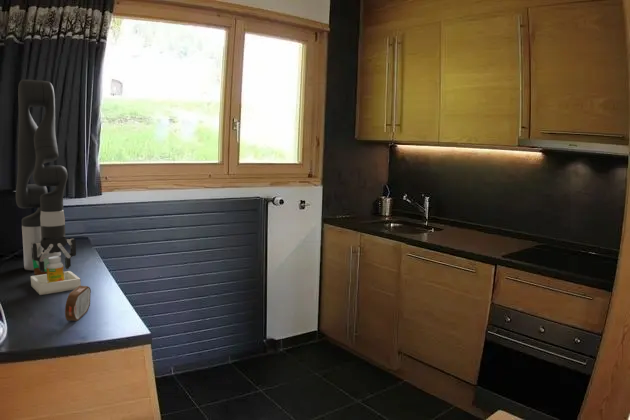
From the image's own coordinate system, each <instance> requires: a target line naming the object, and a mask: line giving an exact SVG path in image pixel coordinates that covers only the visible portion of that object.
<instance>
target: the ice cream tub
mask: <svg viewBox="0 0 630 420" xmlns="http://www.w3.org/2000/svg"><path fill="white" fill-rule="evenodd" d="M46 253H47V252H46ZM40 254H41V253H39V254H37V257H39V256H40ZM61 255H62V252H61V251H60V252H58V253H57V252H54V253H48V255H47V256H46V257H45V259H44V260H43V261H44V269H45V272H41V271H40V270H39V263H38V261H34V260H33V259H32V255H31V259H32V260H33V267H34V270H33V273H34V275H33V276H36V275H43V274H47V264H49V261H48V258H49V257H54V256H59V257H61Z"/></svg>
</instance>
